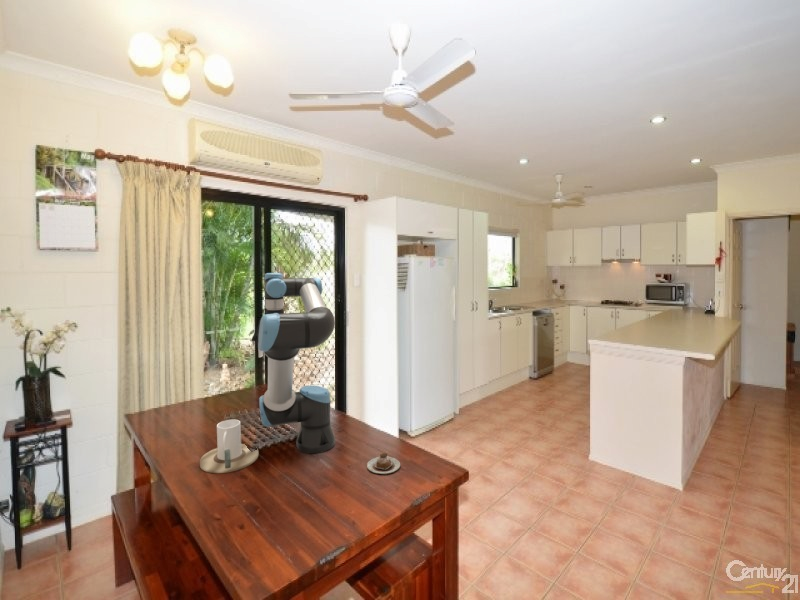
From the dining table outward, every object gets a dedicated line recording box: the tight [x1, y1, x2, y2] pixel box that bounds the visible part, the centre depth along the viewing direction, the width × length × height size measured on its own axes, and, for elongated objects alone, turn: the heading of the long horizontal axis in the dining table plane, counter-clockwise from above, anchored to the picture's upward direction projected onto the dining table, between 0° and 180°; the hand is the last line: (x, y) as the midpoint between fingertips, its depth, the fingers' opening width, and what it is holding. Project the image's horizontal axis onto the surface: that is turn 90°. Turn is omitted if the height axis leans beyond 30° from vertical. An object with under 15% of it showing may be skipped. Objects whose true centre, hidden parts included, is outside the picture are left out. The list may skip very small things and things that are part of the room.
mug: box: [216, 419, 242, 460], centre depth 144 cm, size 12×8×12 cm
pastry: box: [366, 452, 401, 475], centre depth 141 cm, size 12×12×5 cm
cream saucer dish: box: [199, 443, 260, 474], centre depth 146 cm, size 20×20×7 cm
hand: (275, 357), depth 171 cm, fingers open, 13 cm apart
